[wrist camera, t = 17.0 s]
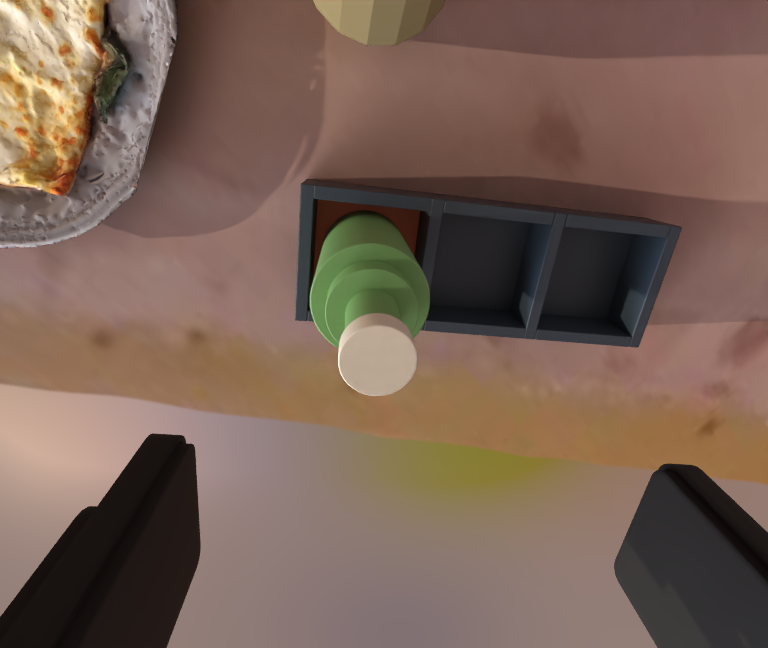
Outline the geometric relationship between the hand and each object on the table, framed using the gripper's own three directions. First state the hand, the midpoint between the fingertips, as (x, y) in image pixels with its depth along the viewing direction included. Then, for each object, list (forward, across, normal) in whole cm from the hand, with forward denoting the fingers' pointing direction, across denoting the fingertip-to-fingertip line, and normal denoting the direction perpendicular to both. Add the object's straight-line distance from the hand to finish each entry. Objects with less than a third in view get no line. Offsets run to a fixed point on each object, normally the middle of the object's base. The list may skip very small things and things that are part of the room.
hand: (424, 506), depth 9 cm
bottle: (+24, +1, 0) cm, 24 cm away
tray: (+25, -7, 0) cm, 26 cm away
